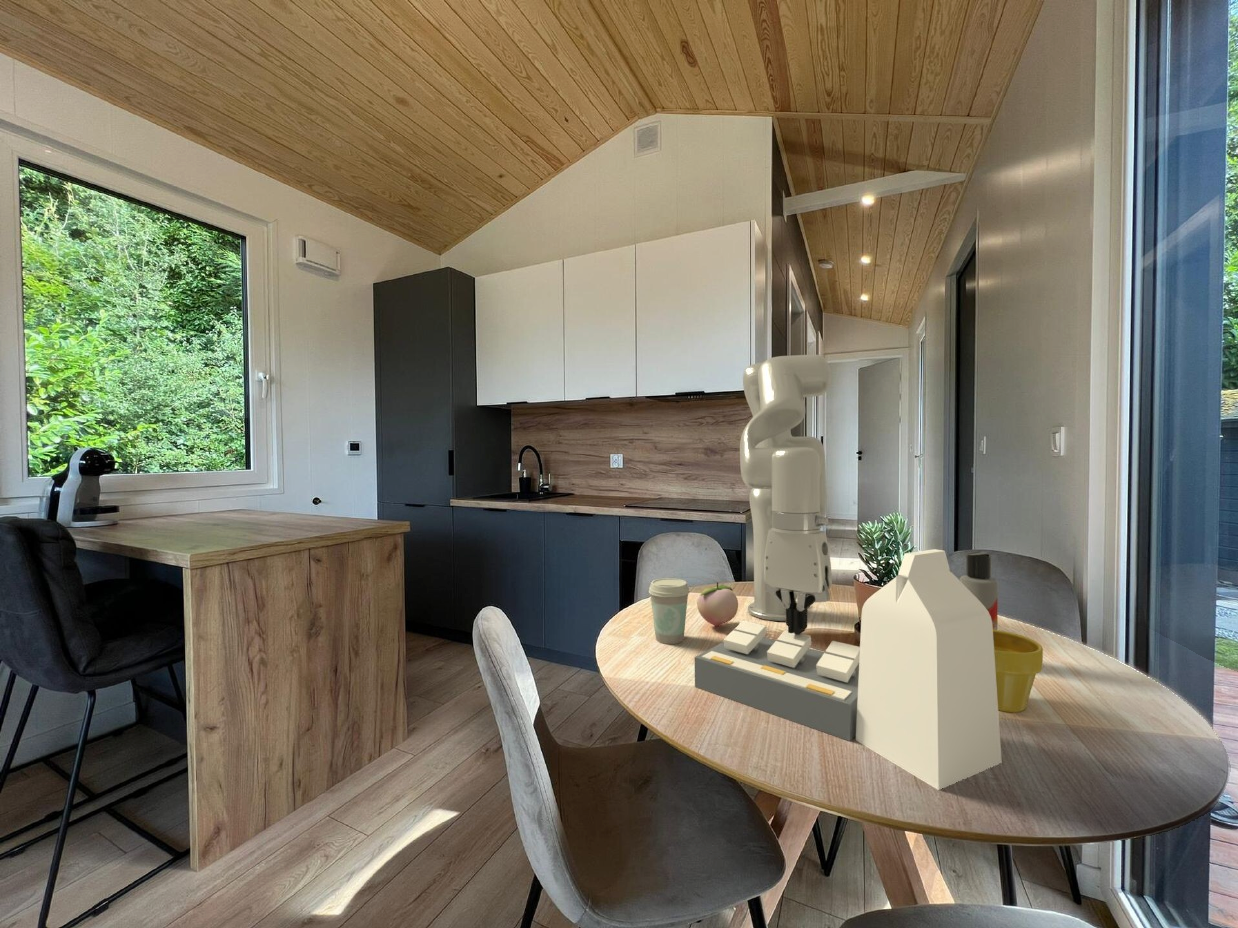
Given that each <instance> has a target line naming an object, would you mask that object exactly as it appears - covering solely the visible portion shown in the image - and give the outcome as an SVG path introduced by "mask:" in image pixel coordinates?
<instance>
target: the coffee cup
mask: <svg viewBox="0 0 1238 928" xmlns="http://www.w3.org/2000/svg"><path fill="white" fill-rule="evenodd" d="M648 589H649V590H648V593H649V595H650V596H649V597H650V602H651V603H650V604H651V610H652V619H653V620H652V621H653V625H654V634H655V640H656V641H657V642H658V643H660V644H664V645H676V644H679V643H683V641H684V640H685V639H684V638H685V629H686V621H687V620H686V619H687V607H688V597H689V594H690V588H689V586H688V582H687V581H686V580H684V579H680V578H669V577H668V578H666V577H665V578H664V577H663V578H657V579H653V580H652V581H651V583H650V586H649V587H648Z"/></svg>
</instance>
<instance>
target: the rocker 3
mask: <svg viewBox="0 0 1238 928" xmlns="http://www.w3.org/2000/svg"><path fill="white" fill-rule="evenodd" d="M823 652H824V654H823V656H822V657H821V659H820V660H819V661H818V663H817V664H816V668H817V674H818V675H822V676H825V677H829V678H832V679H836V680H839V681H843V682H848V681H849V679H850V677H851V675H852V674H853V672H854V670H855V668H856V667H857V665H858V663H859V659H860V646H858V645H853V644H849V643H845V642H839V641H836V640H832V641H831V642H830V644H829V645H828V647H827V648H826V650H825V651H823Z"/></svg>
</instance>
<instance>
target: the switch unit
mask: <svg viewBox="0 0 1238 928" xmlns="http://www.w3.org/2000/svg"><path fill="white" fill-rule="evenodd" d="M775 641H776V639H773V638H769V637H765V636H764V637H763V639H762V640H761V641H760V642H759V643H758V644H757V645H756V646H755V647H754V648H753V649H752V650H751V651H750V652H749V654H745V653H741V652H737V651H734V650H730V649H727V648H725V647H724V641H722V642H721V643H720V642H719V643H718V644H717V645H714V646H713V647H711V648H709V649H707V650H705V651H703V652H702V653H700V654H698V655H696V656H694V687H695V688H696V689H697V688H698V689H700V690H702V691H706V692H709V693H712V694H714V695H717V696H720V697H723V698H726V699H729V700H732V701H735V702H736V703H740V704H743V705H745V706H749V707H751V708H754V709H756V710H760V711H763V712H765V713H768V714H771V715H773V716H777V717H780V718H782V719H786V720H787V721H791V722H794V723H797V724H799V725H802V726H805V727H808V728H811V729H813V730H817V731H820V732H822V733H825V734H828V735H831V736H834V737H837V738H840V739H842V740H845V741H848V742H851V740H852V739H853V738H855V737H856V723H857V702H858V680H859V663H858V665H857V667H856V668H855V670H854V672H853V674H852V675H851V677H850V679H849V681H848V682H843V681H839V680H836V679H832V678H829V677H825V676H822V675H818V674H817V668H816V664H817V663H818V661H819V660H820V659H821V657H822V656H823V654H824V652H825V651H822V650H818V649H814V648H810V647H809V648H808V650H807V651H806V652H805V654H804V655H803V657H802V658H801V659H800V661H799V662H798V663H797V665H796V666H795V668H793V667H789V666H786V665H782V664H779V663H775V662H771V661H768V657H767V651H768V650H769V649H770V647H771V646H772V645H773V644H774V643H775Z"/></svg>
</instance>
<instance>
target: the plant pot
mask: <svg viewBox="0 0 1238 928" xmlns="http://www.w3.org/2000/svg"><path fill="white" fill-rule="evenodd" d="M993 641H994V656H995V671H996V685H997V700H998V712H999V711H1000V712H1006V713H1019V712H1020V713H1021V712H1023V711H1025V709H1026V708H1027V705H1028V703H1029V698H1030V694H1031V692H1032V688H1033V686H1034V680H1035V678H1036V675H1037V674H1038V673H1040V672H1042V670H1043V663H1044V662H1043V660H1044V659H1043V657H1044V649H1043V646H1042V645H1041V644H1040V643H1039V642H1037V641H1036V640H1034V639H1032V638H1030V637H1028V636H1024V635H1022V634H1017V633H1014V632H1009V631H1005V630H1004V631H1003V630H999V629H998V630H993Z"/></svg>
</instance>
